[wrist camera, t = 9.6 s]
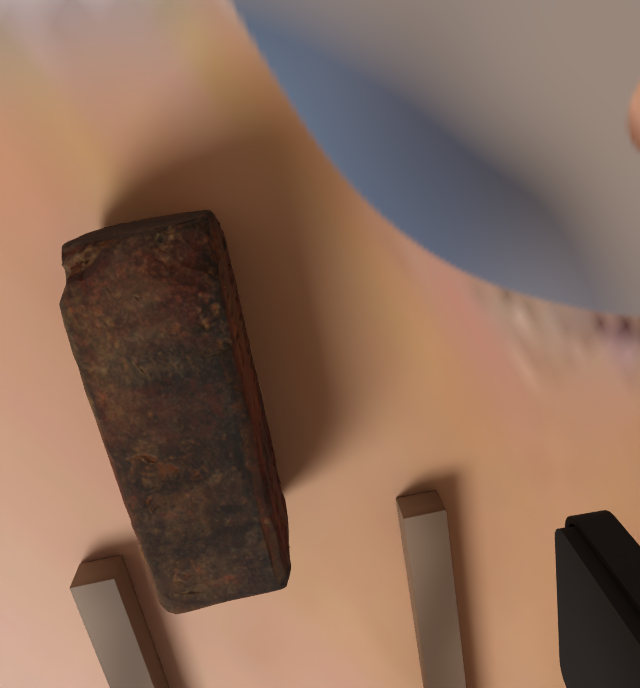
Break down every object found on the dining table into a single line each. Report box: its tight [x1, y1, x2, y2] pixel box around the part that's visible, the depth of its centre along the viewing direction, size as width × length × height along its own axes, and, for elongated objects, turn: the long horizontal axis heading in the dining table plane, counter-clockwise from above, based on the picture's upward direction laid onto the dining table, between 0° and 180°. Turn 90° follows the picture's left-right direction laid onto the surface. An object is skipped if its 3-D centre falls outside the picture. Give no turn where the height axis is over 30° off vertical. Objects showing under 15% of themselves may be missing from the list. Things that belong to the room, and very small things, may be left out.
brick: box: [59, 210, 291, 614], centre depth 17 cm, size 11×4×5 cm, turn 10°
